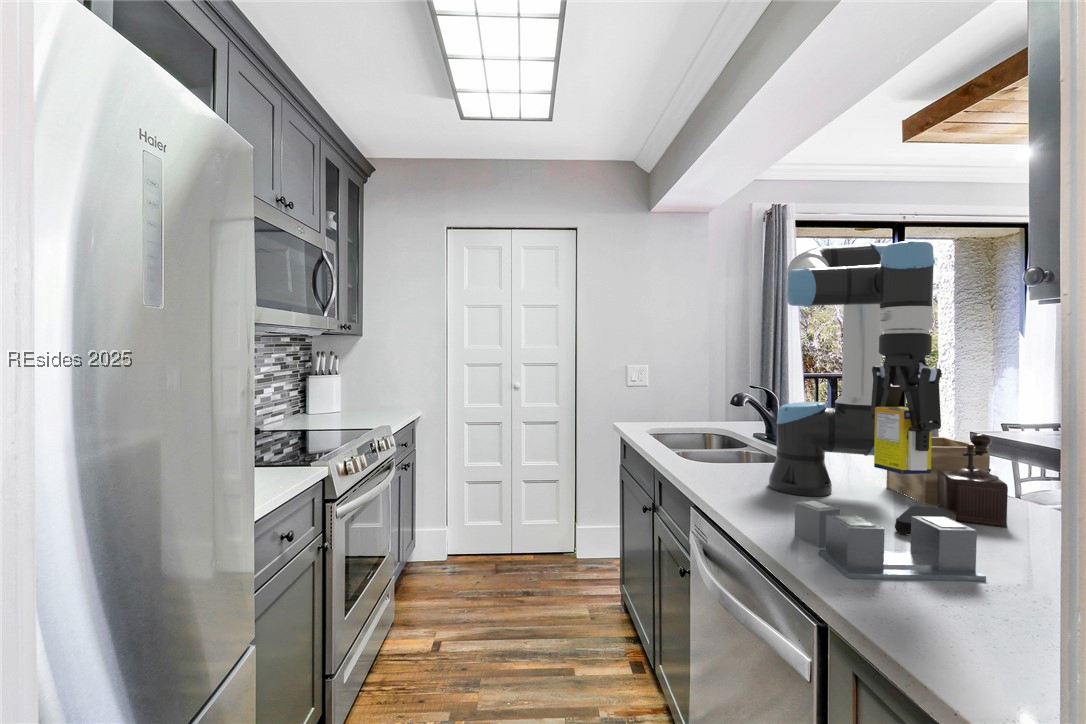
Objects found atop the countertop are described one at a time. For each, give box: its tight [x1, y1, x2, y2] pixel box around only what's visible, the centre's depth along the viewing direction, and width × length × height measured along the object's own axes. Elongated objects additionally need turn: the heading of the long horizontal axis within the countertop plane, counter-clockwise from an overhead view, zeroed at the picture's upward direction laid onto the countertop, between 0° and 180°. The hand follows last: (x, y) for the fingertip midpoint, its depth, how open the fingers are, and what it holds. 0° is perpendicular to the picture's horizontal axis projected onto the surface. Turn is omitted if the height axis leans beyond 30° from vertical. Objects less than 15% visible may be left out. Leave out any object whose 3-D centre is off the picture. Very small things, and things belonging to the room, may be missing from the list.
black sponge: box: [894, 505, 956, 536], centre depth 109 cm, size 16×8×4 cm, turn 134°
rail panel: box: [818, 514, 987, 582], centre depth 90 cm, size 10×22×8 cm, turn 88°
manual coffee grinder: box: [937, 433, 1009, 529], centre depth 119 cm, size 16×11×18 cm
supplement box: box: [873, 406, 933, 474], centre depth 90 cm, size 6×6×11 cm
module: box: [794, 499, 841, 548], centre depth 102 cm, size 6×5×7 cm
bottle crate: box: [886, 436, 991, 505], centre depth 134 cm, size 15×15×14 cm
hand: (902, 464), depth 90 cm, fingers closed on supplement box, 6 cm apart
